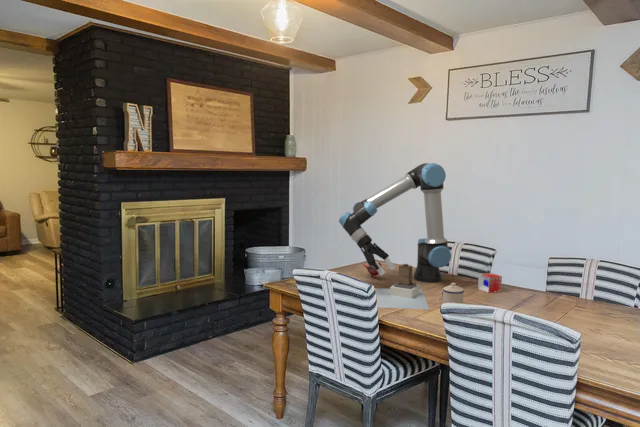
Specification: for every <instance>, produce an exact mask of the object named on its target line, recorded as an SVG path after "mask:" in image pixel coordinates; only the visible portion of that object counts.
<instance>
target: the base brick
mask: <svg viewBox="0 0 640 427" xmlns="http://www.w3.org/2000/svg"><path fill="white" fill-rule="evenodd" d="M389 289H390V295H393V296H399V297H405V298H411V299H412V298H413V297H415V296H416V295H418V294H419V293H420V290H421V285H420V284H417V282H413V281H412V285H410V286H405V285H399V284H398V281H397V282H396V283H394V284H393V285H391V286H390V287H389Z"/></svg>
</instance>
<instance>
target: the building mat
mask: <svg viewBox="0 0 640 427" xmlns="http://www.w3.org/2000/svg"><path fill="white" fill-rule="evenodd" d="M374 288H375V291H376V295H377V306H378V307H377V308H381V309H383V308H385V309H411V310H412V309H413V310H428V312H430V307H429V304H428V303H427V300H426V297H425V295H424V292H423V289H420V293H419V294H418V295H416V296H415V297H413V298H412V299H411V298H405V297H399V296H393V295H390V288H381V287H380V288H376V287H374Z"/></svg>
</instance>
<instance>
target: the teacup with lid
mask: <svg viewBox="0 0 640 427" xmlns="http://www.w3.org/2000/svg"><path fill="white" fill-rule="evenodd" d="M464 292H465V290H464V288H463V287H461V286H459V285H457V283H455V282H452V283H450V285H447V286H444V287H443V288H442V290H441V297H442V304H443V303H446V302H455V303H463V304H464Z"/></svg>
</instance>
